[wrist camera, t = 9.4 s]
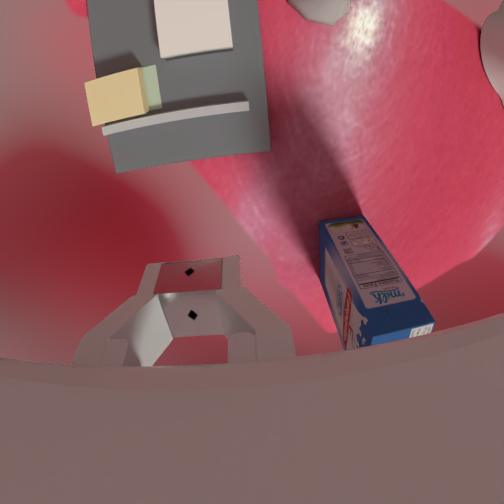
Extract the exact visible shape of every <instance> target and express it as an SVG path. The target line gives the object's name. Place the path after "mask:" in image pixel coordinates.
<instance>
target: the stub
mask: <svg viewBox="0 0 504 504" xmlns="http://www.w3.org/2000/svg"><path fill="white" fill-rule="evenodd" d="M84 84H85V89H86V95H87V101H88V106H89V111H90V116H91V121H92V125H93V126H95V125H99V124H104V123H107V122H111V121H115V120H119V119H124V118H128V117H132V116H137V115H141V114H145V113H147V112H148V111H149V106H148V100H147V94H146V88H145V81H144V75H143V68H142V67H140V68H134V69H130V70H126V71H122V72H119V73H115V74H111V75H108V76H104V77H101V78H98V79H95V80H91V81H88V82H85V83H84Z"/></svg>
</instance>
